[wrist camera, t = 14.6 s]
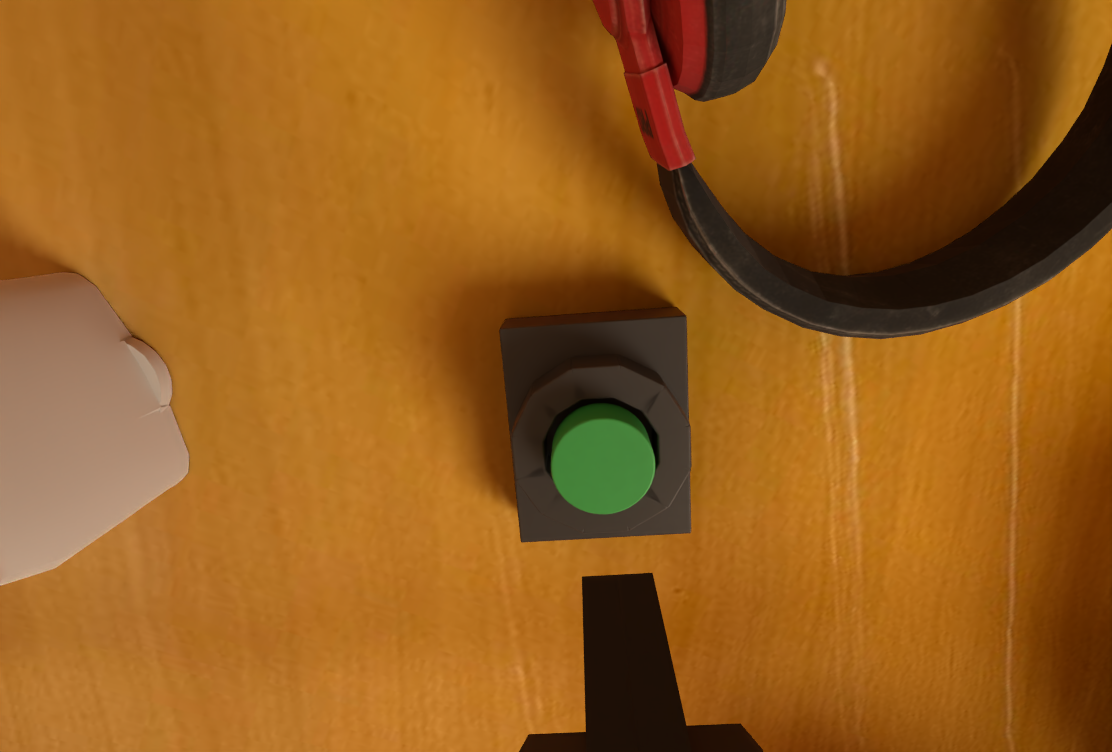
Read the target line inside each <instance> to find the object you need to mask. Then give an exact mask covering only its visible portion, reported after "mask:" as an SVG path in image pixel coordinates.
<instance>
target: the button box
mask: <svg viewBox="0 0 1112 752" xmlns="http://www.w3.org/2000/svg"><path fill="white" fill-rule="evenodd" d="M499 332H500V342H501V352H502V361H503V371H504V381H505V391H506V401H507V410H508V420H509V430H510V440H511V450H512V459H513V469H514V479H515V489H516V499H517V508H518V518H519V528H520V538H521V542H536V541H554V540H573V539H591V538H609V537H627V536H645V535H664V534H682V533H691V500H690V471H691V429H690V424H689V410H688V365H687V320H686V315H685V314H684V313H682V312H681V311H680V310H679V309H678V308H677V307H665V308H651V309H638V310H624V311H610V312H596V313H582V314H568V315H554V316H540V317H526V318H512V319H505V321H504V323H503V324H502V326H501V328H500V330H499ZM594 403H609V404H614V405H618V406H620V407H623V408H625V409H626V410H628V411H630V412H631V413H632V414H634V415H635V416H636V417H637V418H638V419H639V420H640V422H641V423H642V424H643V426H644V428H645V429H646V432H647V434H648V437H649V440H650V443H651V446H652V449H653V453H654V456H655V474H654V478H653V481H652V484H651V486H650V488H649V489H648V491H647V492H646V494H645V495H644V496H643V497H642V498H641V499H640V500H639V501H638V502H637V503H636V504H634V505H633V506H631V507H629V508H627V509H625V510H623V511H620V512H617V513H612V514H593V513H589V512H585V511H583V510H580V509H578V508H576V507H574V506H573V505H571V504H570V503H569V502H567V501H566V500H565V499H564V498H563V497H562V496H561V494H560V493H559V492H558V490H557V488H556V486H555V484H554V482H553V479H552V475H551V453H552V443H553V438H554V435H555V432H556V430H557V428H558V426H559V425H560V423H561V422H562V421H563V420H564V418H566V417H567V416H568V415H569V414H570V413H571V412H573V411H574V410H576V409H578V408H580V407H583V406H585V405H589V404H594Z"/></svg>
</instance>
